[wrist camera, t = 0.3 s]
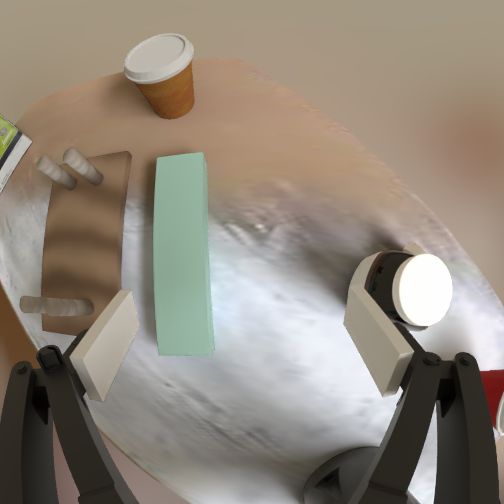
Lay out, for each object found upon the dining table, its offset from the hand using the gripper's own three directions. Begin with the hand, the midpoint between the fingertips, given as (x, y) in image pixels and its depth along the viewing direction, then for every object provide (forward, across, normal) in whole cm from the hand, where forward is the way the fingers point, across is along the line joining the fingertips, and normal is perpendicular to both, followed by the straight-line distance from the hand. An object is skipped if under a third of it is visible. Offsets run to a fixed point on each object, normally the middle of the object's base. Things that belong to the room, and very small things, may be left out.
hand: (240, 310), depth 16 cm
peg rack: (+20, +23, +2) cm, 30 cm away
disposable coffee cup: (+30, +10, -18) cm, 37 cm away
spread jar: (+16, -19, +7) cm, 26 cm away
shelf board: (+19, +7, +3) cm, 20 cm away
